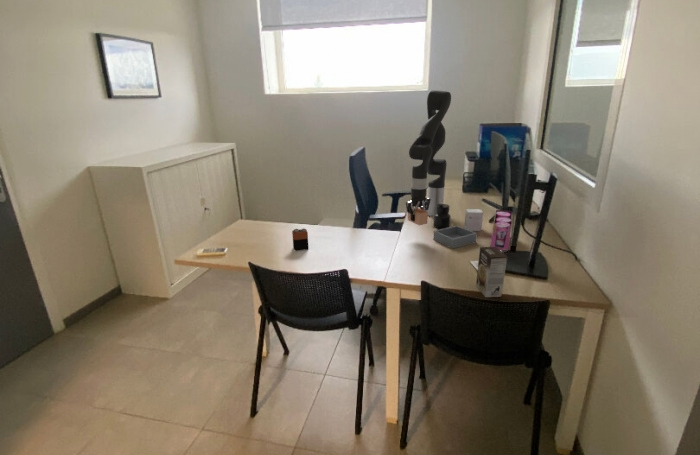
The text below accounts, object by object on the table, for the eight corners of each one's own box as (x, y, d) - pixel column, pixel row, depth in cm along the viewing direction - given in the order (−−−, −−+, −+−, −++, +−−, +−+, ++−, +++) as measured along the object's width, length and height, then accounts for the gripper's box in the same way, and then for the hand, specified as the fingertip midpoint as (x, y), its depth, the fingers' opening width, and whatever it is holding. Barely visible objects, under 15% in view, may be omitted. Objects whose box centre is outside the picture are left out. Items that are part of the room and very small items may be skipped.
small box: (479, 227, 205) (481, 209, 201) (481, 231, 200) (483, 212, 196) (463, 227, 206) (465, 208, 202) (465, 231, 200) (467, 212, 197)
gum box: (507, 254, 172) (511, 226, 167) (489, 252, 174) (492, 224, 170) (509, 236, 192) (512, 211, 188) (492, 234, 195) (495, 209, 191)
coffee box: (475, 285, 145) (479, 246, 139) (491, 284, 145) (496, 245, 140) (485, 297, 136) (490, 256, 131) (502, 296, 137) (508, 256, 131)
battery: (293, 247, 182) (291, 228, 179) (307, 246, 184) (306, 226, 180) (294, 251, 178) (293, 231, 175) (308, 249, 180) (307, 229, 176)
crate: (433, 239, 190) (433, 231, 188) (456, 233, 197) (456, 225, 195) (452, 248, 179) (453, 239, 177) (475, 242, 186) (476, 233, 184)
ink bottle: (448, 223, 211) (450, 203, 207) (452, 229, 203) (454, 207, 199) (431, 223, 212) (432, 203, 208) (433, 229, 203) (435, 208, 199)
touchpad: (487, 262, 165) (488, 258, 164) (502, 279, 150) (503, 274, 150) (469, 263, 164) (470, 259, 163) (483, 279, 150) (483, 275, 149)
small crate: (407, 220, 191) (408, 208, 189) (415, 218, 193) (416, 207, 191) (419, 225, 183) (419, 213, 181) (427, 223, 186) (427, 211, 184)
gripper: (425, 183, 188) (423, 215, 194) (402, 187, 182) (401, 220, 188) (435, 186, 182) (433, 219, 188) (412, 190, 176) (410, 224, 182)
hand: (417, 219), depth 188 cm, fingers closed on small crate, 5 cm apart
